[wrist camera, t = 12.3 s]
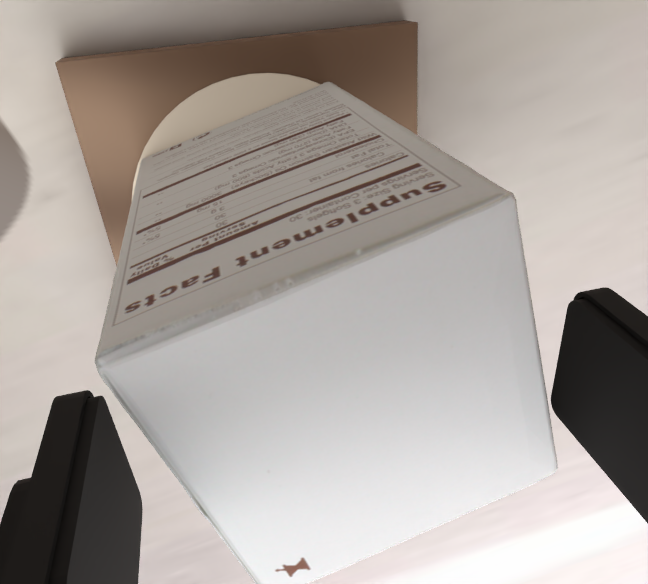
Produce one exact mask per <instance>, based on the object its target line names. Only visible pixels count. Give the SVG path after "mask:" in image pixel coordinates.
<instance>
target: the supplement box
mask: <svg viewBox="0 0 648 584" xmlns="http://www.w3.org/2000/svg"><path fill="white" fill-rule="evenodd" d="M95 364H96V367H97V370H98V373H99V374H100V376H101V378H102V379H103V381H104V382H105V384H106V385H107V386H108V387H109V388H110V390H111V391H112V392H113V394H114V395H115V397H116V398H117V399H118V401H119V402H120V404H121V405H122V406H123V408H124V409H125V410H126V411H127V413H128V414H129V415H130V416H131V418H132V419H133V420H134V422H135V423H136V424H137V425H138V427H139V428H140V429H141V431H142V432H143V434H144V435H145V436H146V438H147V439H148V440H149V442H150V443H151V444H152V446H153V447H154V448H155V450H156V451H157V453H158V454H159V455H160V457H161V458H162V459H163V461H164V462H165V463H166V465H167V466H168V467H169V468H170V470H171V471H172V472H173V474H174V475H175V476H176V478H177V479H178V480H179V482H180V483H181V485H182V486H183V487H184V489H185V490H186V492H187V493H188V495H189V496H190V498H191V499H192V501H193V503H194V504H195V505H196V507H197V508H198V510H199V511H200V513H201V514H202V515H203V516H204V517H205V518H206V519H207V520H208V521H209V522H210V524H211V525H212V526H213V527H214V529H215V530H216V532H217V533H218V534H219V536H220V537H221V538H222V540H223V541H224V542H225V544H226V545H227V546H228V548H229V549H230V550H231V552H232V553H233V554H234V556H235V557H236V558H237V560H238V561H239V562H240V564H241V565H242V566H243V568H244V569H245V571H246V572H247V573H248V575H249V576H250V577H251V579H252V580H253V581H254V583H255V584H308V583H310V582H312V581H315V580H317V579H320V578H322V577H324V576H327V575H329V574H332V573H334V572H336V571H339V570H341V569H343V568H346V567H348V566H350V565H352V564H354V563H357V562H359V561H361V560H363V559H366V558H368V557H370V556H372V555H375V554H377V553H379V552H382V551H384V550H386V549H388V548H391V547H393V546H395V545H397V544H400V543H402V542H404V541H406V540H408V539H410V538H413V537H415V536H417V535H419V534H422V533H424V532H426V531H429V530H431V529H433V528H436V527H438V526H440V525H442V524H445V523H447V522H449V521H452V520H454V519H456V518H458V517H461V516H463V515H465V514H467V513H470V512H472V511H474V510H476V509H479V508H481V507H483V506H485V505H487V504H490V503H492V502H494V501H497V500H500V499H502V498H504V497H506V496H508V495H511V494H513V493H516V492H518V491H520V490H522V489H524V488H526V487H529V486H531V485H533V484H535V483H537V482H539V481H541V480H543V479H545V478H547V477H549V476H550V475H552V474H554V473H555V472H556V470H557V469H558V465H557V458H556V452H555V446H554V440H553V433H552V427H551V420H550V414H549V407H548V401H547V394H546V388H545V382H544V375H543V369H542V363H541V357H540V350H539V344H538V338H537V332H536V325H535V319H534V313H533V307H532V300H531V294H530V288H529V282H528V275H527V269H526V263H525V257H524V250H523V244H522V238H521V232H520V226H519V220H518V213H517V205H516V199H515V197H514V195H513V193H511V192H509V191H507V190H505V189H503V188H502V187H500V186H498V185H497V184H495V183H493V182H492V181H490V180H489V179H487V178H485V177H484V176H482V175H481V174H479V173H477V172H476V171H474V170H473V169H472V168H470V167H468V166H467V165H465V164H463V163H462V162H460V161H458V160H457V159H455V158H453V157H452V156H450V155H448V154H447V153H445V152H443V151H442V150H440V149H439V148H437V147H436V146H434V145H432V144H431V143H429V142H428V141H426V140H425V139H423V138H421V137H420V136H418V135H416V134H415V133H413V132H412V131H410V130H409V129H407V128H405V127H403V126H402V125H400V124H398V123H397V122H395V121H394V120H392V119H391V118H389V117H387V116H386V115H384V114H382V113H381V112H379V111H377V110H376V109H374V108H372V107H371V106H369V105H368V104H366V103H365V102H363V101H361V100H359V99H358V98H356V97H354V96H353V95H351V94H350V93H348V92H346V91H345V90H343V89H341V88H340V87H338V86H336V85H335V84H333V83H331V82H325V83H323V84H321V85H319V86H317V87H315V88H312V89H310V90H307V91H305V92H303V93H300V94H298V95H295V96H293V97H291V98H288V99H286V100H283V101H281V102H279V103H276V104H274V105H271V106H269V107H267V108H264V109H262V110H259V111H257V112H254V113H252V114H250V115H247V116H245V117H242V118H240V119H237V120H235V121H233V122H230V123H228V124H225V125H223V126H220V127H218V128H216V129H213V130H211V131H208V132H206V133H203V134H201V135H198V136H196V137H193V138H191V139H189V140H186V141H184V142H181V143H179V144H177V145H174V146H172V147H170V148H167V149H165V150H162V151H160V152H157V153H155V154H152V155H150V156H148V157H145V158H143V159H142V160H141V163H140V168H139V172H138V176H137V180H136V186H135V190H134V195H133V198H132V203H131V206H130V211H129V215H128V220H127V225H126V228H125V233H124V237H123V241H122V247H121V250H120V255H119V260H118V264H117V268H116V272H115V277H114V281H113V286H112V290H111V294H110V299H109V303H108V307H107V311H106V316H105V320H104V324H103V328H102V333H101V338H100V341H99V345H98V348H97V352H96V357H95Z"/></svg>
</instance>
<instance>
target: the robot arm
mask: <svg viewBox="0 0 648 584" xmlns="http://www.w3.org/2000/svg"><path fill="white" fill-rule="evenodd" d="M551 404H552V408H553V410H554V412H555V414H556V415H557V417H558V418H559V419H560V420H561V421H562V422H563V424H564V425H565V426H566V427H567V428H568V430H569V431H570V432H571V433H572V434H573V435H574V437H575V438H576V439H577V440H578V441H579V443H580V444H581V445H582V446H583V447H584V448H585V450H586V451H587V452H588V453H589V454H590V456H591V457H592V458H593V459H594V460H595V461H596V463H597V464H598V465H599V466H600V467H601V469H602V470H603V471H604V472H605V473H606V474H607V476H608V477H609V478H610V479H611V480H612V482H613V483H614V484H615V485H616V486H617V487H618V489H619V490H620V491H621V492H622V493H623V495H624V496H625V497H626V498H627V499H628V500H629V502H630V503H631V504H632V505H633V506H634V508H635V509H636V510H637V511H638V512H639V513H640V515H641V516H642V517H643V518H644V519H645V521H646V522H647V523H648V316H646V315H645V314H644V313H642V312H641V311H640V310H638V309H637V308H636V307H634V306H633V305H632V304H630V303H629V302H628V301H626V300H625V299H624V298H622V297H621V296H620V295H618V294H617V293H616V292H614V291H613V290H611V289H609V288H599V289H594V290H589V291H584V292H580V293H578V294H577V295H576V296H575V297H574V300H573V301H571V302H570V303H569V305H568V308H567V314H566V319H565V324H564V330H563V335H562V341H561V346H560V351H559V357H558V362H557V368H556V373H555V378H554V384H553V389H552V395H551ZM141 526H142V500H141V495H140V492H139V489H138V486H137V484H136V481H135V478H134V476H133V473H132V470H131V468H130V465H129V462H128V460H127V457H126V454H125V452H124V449H123V446H122V444H121V441H120V438H119V436H118V433H117V430H116V428H115V425H114V422H113V420H112V417H111V414H110V412H109V409H108V406H107V404H106V401H105V399H104V397H103V396H97V397H94V396H93V394H92V393H91V392H90V391H88V390H87V391H82V392H77V393H72V394H67V395H62V396H57V397H55V398H54V400H53V403H52V406H51V410H50V413H49V417H48V420H47V424H46V427H45V431H44V434H43V438H42V442H41V445H40V449H39V452H38V456H37V459H36V463H35V466H34V470H33V473H32V477H31V478H28V479H23V480H18V481H17V482H16V483H15V484H14V486H13V488H12V490H11V492H10V495H9V498H8V502H7V505H6V508H5V511H4V514H3V517H2V521H1V524H0V584H138V574H139V558H140V542H141Z"/></svg>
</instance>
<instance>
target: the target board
mask: <svg viewBox="0 0 648 584" xmlns="http://www.w3.org/2000/svg"><path fill="white" fill-rule="evenodd" d="M417 29H418V23H417V22H411V21H397V22H388V23H379V24H370V25H360V26H351V27H342V28H333V29H324V30H315V31H306V32H297V33H288V34H279V35H269V36H260V37H251V38H242V39H233V40H224V41H215V42H206V43H197V44H188V45H179V46H169V47H160V48H151V49H142V50H133V51H124V52H115V53H106V54H97V55H88V56H79V57H69V58H62V59H60V60H59V61H57V62H56V63H55V64H56V67H57V70H58V73H59V77H60V80H61V83H62V87H63V90H64V93H65V97H66V100H67V103H68V107H69V110H70V113H71V116H72V120H73V123H74V126H75V130H76V133H77V136H78V140H79V143H80V146H81V149H82V153H83V156H84V159H85V163H86V166H87V169H88V173H89V176H90V179H91V183H92V186H93V189H94V192H95V196H96V199H97V202H98V206H99V209H100V212H101V216H102V219H103V222H104V226H105V229H106V232H107V235H108V239H109V242H110V245H111V249H112V252H113V255H114V259H115V262H116V265H117V264H118V260H119V255H120V250H121V247H122V241H123V237H124V233H125V228H126V225H127V220H128V215H129V211H130V206H131V203H132V198H133V195H134V190H135V186H136V180H137V176H138V172H139V168H140V163H141V160H142V159H143V158H145V157H148V156H150V155H152V154H155V153H157V152H160V151H162V150H165V149H167V148H170V147H172V146H174V145H177V144H179V143H181V142H184V141H186V140H189V139H191V138H193V137H196V136H198V135H201V134H203V133H206V132H208V131H211V130H213V129H216V128H218V127H220V126H223V125H225V124H228V123H230V122H233V121H235V120H237V119H240V118H242V117H245V116H247V115H250V114H252V113H254V112H257V111H259V110H262V109H264V108H267V107H269V106H271V105H274V104H276V103H279V102H281V101H283V100H286V99H288V98H291V97H293V96H295V95H298V94H300V93H303V92H305V91H307V90H310V89H312V88H315V87H317V86H319V85H321V84H323V83H325V82H331V83H333V84H335V85H336V86H338V87H340V88H341V89H343V90H345V91H346V92H348V93H350V94H351V95H353V96H354V97H356V98H358V99H359V100H361V101H363V102H365V103H366V104H368V105H369V106H371V107H372V108H374V109H376V110H377V111H379V112H381V113H382V114H384V115H386V116H387V117H389V118H391V119H392V120H394V121H395V122H397V123H398V124H400V125H402V126H403V127H405V128H407V129H409V130H410V131H412V132H413V133H415V134H416V135H417Z"/></svg>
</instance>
